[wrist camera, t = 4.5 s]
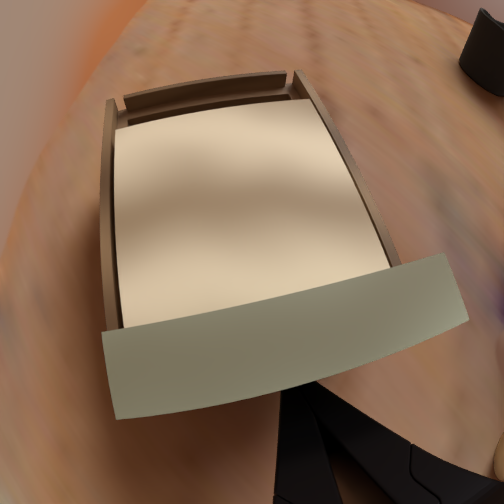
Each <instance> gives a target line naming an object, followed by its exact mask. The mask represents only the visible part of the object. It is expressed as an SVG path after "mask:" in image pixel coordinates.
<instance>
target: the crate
mask: <svg viewBox="0 0 504 504" xmlns="http://www.w3.org/2000/svg"><path fill="white" fill-rule="evenodd" d="M286 76H287V73H286V71H272V72H259V73H249V74H239V75H231V76H223V77H215V78H208V79H202V80H195V81H190V82H184V83H178V84H173V85H168V86H163V87H158V88H153V89H149V90H145V91H140V92H136V93H132V94H128V95H124V102H125V105H126V108H127V109H124V110H121V111H118V109H117V106H116V103H115V100H114V98H113V99H109V100H106V108H105V117H104V128H103V140H102V155H101V174H100V250H101V271H102V286H103V298H104V308H105V318H106V327H107V331H111V330H117V329H123V328H124V323H123V315H122V307H121V298H120V289H119V278H118V266H117V252H116V235H115V208H114V156H115V130H117V129H121V128H125V127H129V126H133V125H137V124H142V123H146V122H150V121H155V120H159V119H164V118H169V117H174V116H179V115H184V114H190V113H195V112H201V111H207V110H213V109H220V108H226V107H233V106H241V105H249V104H257V103H267V102H277V101H288V100H301V99H310V101H311V102H312V104H313V106H314V108H315V109H316V111H317V113H318V115H319V116H320V118H321V120H322V122H323V124H324V126H325V127H326V129H327V131H328V133H329V135H330V137H331V139H332V140H333V142H334V144H335V146H336V148H337V150H338V152H339V154H340V156H341V158H342V160H343V162H344V164H345V166H346V168H347V170H348V172H349V174H350V176H351V178H352V180H353V182H354V185H355V187H356V189H357V191H358V193H359V195H360V197H361V200H362V202H363V204H364V206H365V208H366V211H367V213H368V215H369V217H370V220H371V222H372V224H373V227H374V229H375V231H376V234H377V236H378V239H379V241H380V243H381V246H382V248H383V251H384V253H385V256H386V258H387V261H388V263H389V266H390V268H392V267H395V266H399V265H402V264H401V261H400V259H399V256H398V254H397V251H396V249H395V246H394V244H393V242H392V239H391V237H390V235H389V232H388V230H387V228H386V225H385V223H384V221H383V219H382V216H381V214H380V212H379V210H378V208H377V205H376V203H375V201H374V199H373V197H372V195H371V193H370V191H369V188H368V186H367V184H366V182H365V180H364V178H363V176H362V174H361V172H360V170H359V168H358V166H357V164H356V162H355V161H354V159H353V157H352V155H351V153H350V151H349V149H348V147H347V145H346V144H345V142H344V140H343V138H342V136H341V134H340V133H339V131H338V129H337V127H336V126H335V124H334V122H333V120H332V119H331V117H330V115H329V113H328V112H327V110H326V108H325V107H324V105H323V103H322V102H321V100H320V98H319V97H318V95H317V93H316V92H315V90H314V89H313V87H312V85H311V84H310V82H309V81H308V79H307V77H306V76H305V74H304V73H303V71H302V70H294V76H293V82H292V83H290V84H285V82H286Z"/></svg>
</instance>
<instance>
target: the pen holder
mask: <svg viewBox="0 0 504 504" xmlns="http://www.w3.org/2000/svg"><path fill="white" fill-rule="evenodd" d="M459 61H460V65H461V67H462V68H463V70H464V71H465V72H466V73H467V74H468V75H469V76H470V77H471V78H472V79H473V80H474V81H475V82H476V83H478V84H479V85H480V86H482V87H483V88H484V89H486V90H487V91H489V92H491V93H493V94H495V95H498V96H504V23H501V22H499V21H497V20H495V19H494V18H492V17H491V16H490V14H489V13H488V12H487V11H486V10H485V9H483V8H480V10H479V12H478V15H477V18H476V20H475V22H474V25H473V27H472V30H471V32H470V35H469V37H468V39H467V42H466V44H465V46H464V49H463V51H462V54H461V56H460V59H459Z"/></svg>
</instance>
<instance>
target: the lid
mask: <svg viewBox="0 0 504 504" xmlns="http://www.w3.org/2000/svg"><path fill="white" fill-rule="evenodd" d="M114 208H115V235H116V252H117V266H118V278H119V289H120V298H121V307H122V315H123V323H124V328H123V329H117V330H111V331H105V332H101V333H102V342H103V349H104V356H105V363H106V369H107V375H108V381H109V387H110V392H111V398H112V403H113V408H114V412H115V417H116V420H119V419H129V418H138V417H147V416H155V415H162V414H169V413H175V412H182V411H188V410H194V409H199V408H205V407H210V406H215V405H220V404H225V403H230V402H235V401H239V400H244V399H248V398H252V397H257V396H261V395H265V394H269V393H273V392H277V391H280V390H284V389H288V388H291V387H295V386H299V385H302V384H306V383H309V382H312V381H316V380H319V379H322V378H325V377H329V376H332V375H335V374H338V373H341V372H344V371H347V370H350V369H353V368H356V367H359V366H361V365H364V364H367V363H370V362H373V361H375V360H378V359H381V358H383V357H386V356H388V355H391V354H394V353H396V352H399V351H401V350H404V349H406V348H408V347H411V346H413V345H416V344H418V343H420V342H423V341H425V340H427V339H430V338H432V337H434V336H436V335H439V334H441V333H443V332H445V331H447V330H449V329H452V328H454V327H456V326H458V325H460V324H462V323H464V322H466V321H468V320H469V317H468V314H467V311H466V308H465V305H464V302H463V299H462V297H461V294H460V291H459V288H458V286H457V283H456V280H455V278H454V275H453V273H452V270H451V268H450V265H449V263H448V260H447V258H446V256H445V253H444V252H443V253H440V254H437V255H433V256H430V257H427V258H423V259H420V260H416V261H413V262H409V263H406V264H402V265H399V266H395V267H392V268H390V266H389V263H388V261H387V258H386V256H385V253H384V251H383V248H382V246H381V243H380V241H379V239H378V236H377V234H376V231H375V229H374V227H373V224H372V222H371V220H370V217H369V215H368V213H367V211H366V208H365V206H364V204H363V202H362V200H361V197H360V195H359V193H358V191H357V189H356V187H355V185H354V182H353V180H352V178H351V176H350V174H349V172H348V170H347V168H346V166H345V164H344V162H343V160H342V158H341V156H340V154H339V152H338V150H337V148H336V146H335V144H334V142H333V140H332V139H331V137H330V135H329V133H328V131H327V129H326V127H325V126H324V124H323V122H322V120H321V118H320V116H319V115H318V113H317V111H316V109H315V108H314V106H313V104H312V102H311V101H310V99H301V100H288V101H277V102H267V103H257V104H249V105H241V106H233V107H226V108H220V109H213V110H207V111H201V112H195V113H190V114H184V115H179V116H174V117H169V118H164V119H159V120H155V121H150V122H146V123H142V124H137V125H133V126H129V127H125V128H121V129H117V130H115V156H114Z"/></svg>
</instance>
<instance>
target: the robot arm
mask: <svg viewBox="0 0 504 504" xmlns="http://www.w3.org/2000/svg"><path fill="white" fill-rule="evenodd" d="M273 504H504V482H500V481H497V480H493V479H491V478H488V477H485V476H482V475H479V474H477V473H474V472H471V471H468V470H466V469H463V468H461V467H458V466H456V465H453V464H451V463H449V462H446V461H444V460H442V459H440V458H438V457H436V456H434V455H432V454H430V453H428V452H427V451H425V450H423V449H421V448H420V447H418V446H416V445H415V444H411V442H409V441H408V440H406V439H404V438H403V437H401V436H399V435H398V434H396V433H394V432H393V431H391V430H390V429H388V428H386V427H385V426H383V425H382V424H380V423H378V422H377V421H375V420H374V419H372V418H370V417H369V416H367V415H366V414H364V413H363V412H361V411H360V410H358V409H357V408H355V407H353V406H352V405H350V404H349V403H347V402H346V401H344V400H343V399H341V398H340V397H338V396H337V395H335V394H334V393H332V392H331V391H329V390H328V389H326V388H325V387H323V386H322V385H321V384H319V383H318V382H316V381H312V382H309V383H306V384H302V385H299V386H295V387H291V388H288V389H284V390H281V395H280V412H279V428H278V443H277V458H276V471H275V484H274V496H273Z"/></svg>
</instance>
